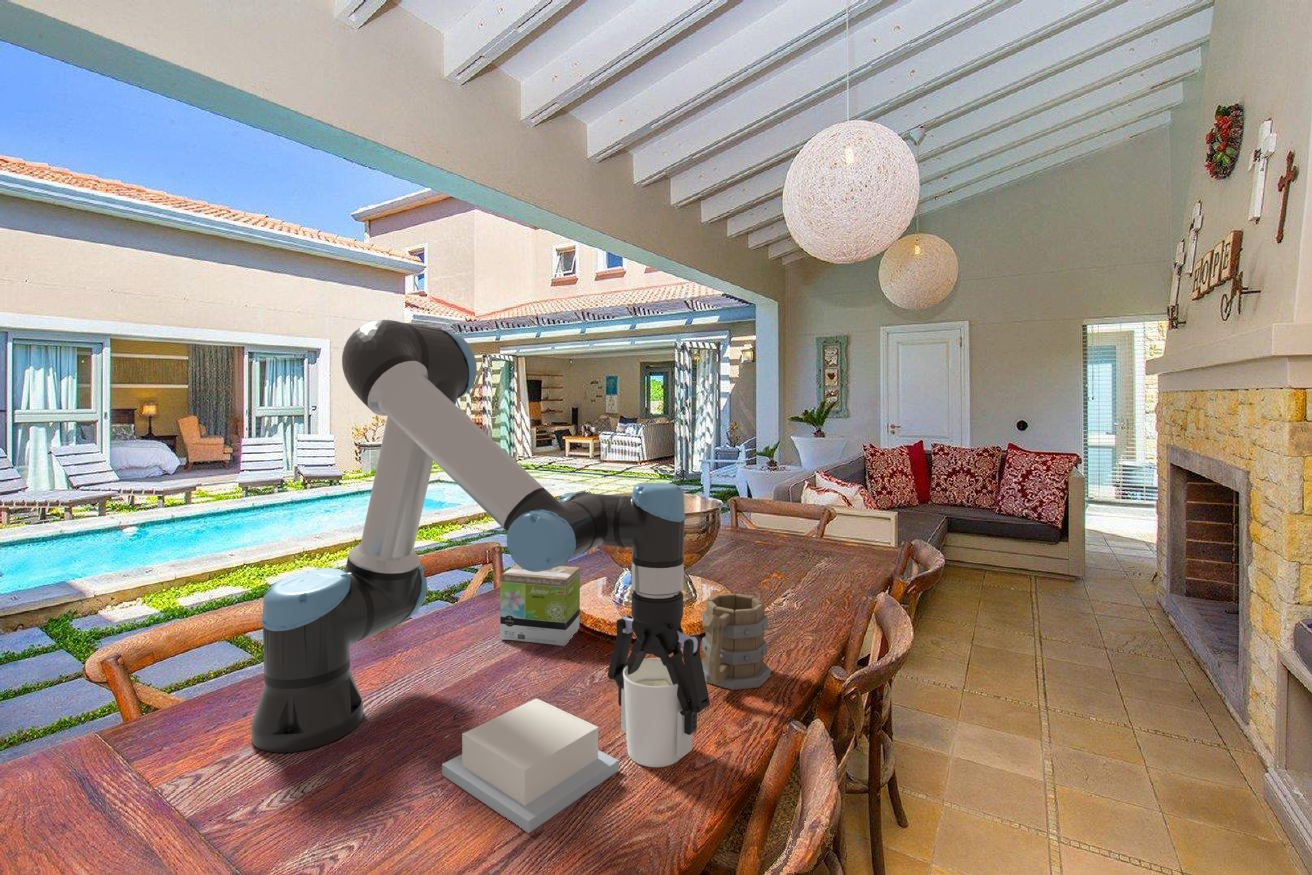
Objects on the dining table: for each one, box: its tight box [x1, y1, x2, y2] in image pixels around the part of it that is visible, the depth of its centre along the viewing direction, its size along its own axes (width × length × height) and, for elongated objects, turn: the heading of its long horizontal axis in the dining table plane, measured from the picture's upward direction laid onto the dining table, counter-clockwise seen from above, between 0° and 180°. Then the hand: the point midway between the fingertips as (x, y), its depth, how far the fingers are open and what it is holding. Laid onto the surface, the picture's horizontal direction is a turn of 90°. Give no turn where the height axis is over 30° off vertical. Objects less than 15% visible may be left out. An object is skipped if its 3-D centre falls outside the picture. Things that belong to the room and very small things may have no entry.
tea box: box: [499, 563, 581, 647], centre depth 133 cm, size 15×10×15 cm
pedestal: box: [441, 697, 620, 834], centre depth 84 cm, size 18×16×6 cm
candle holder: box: [623, 657, 682, 768], centre depth 89 cm, size 10×10×12 cm
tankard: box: [701, 592, 771, 691], centre depth 112 cm, size 20×13×15 cm, turn 149°
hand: (655, 740), depth 89 cm, fingers open, 10 cm apart
